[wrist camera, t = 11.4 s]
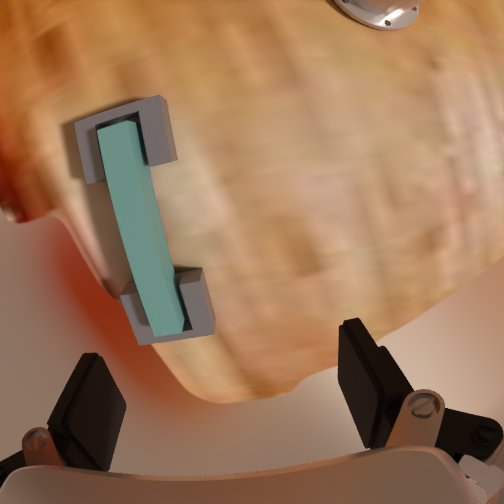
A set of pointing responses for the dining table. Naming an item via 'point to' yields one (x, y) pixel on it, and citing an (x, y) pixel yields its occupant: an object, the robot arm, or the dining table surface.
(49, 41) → the dining table surface
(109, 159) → the slat
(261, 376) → the dining table surface
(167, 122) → the end caps
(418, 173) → the dining table surface
